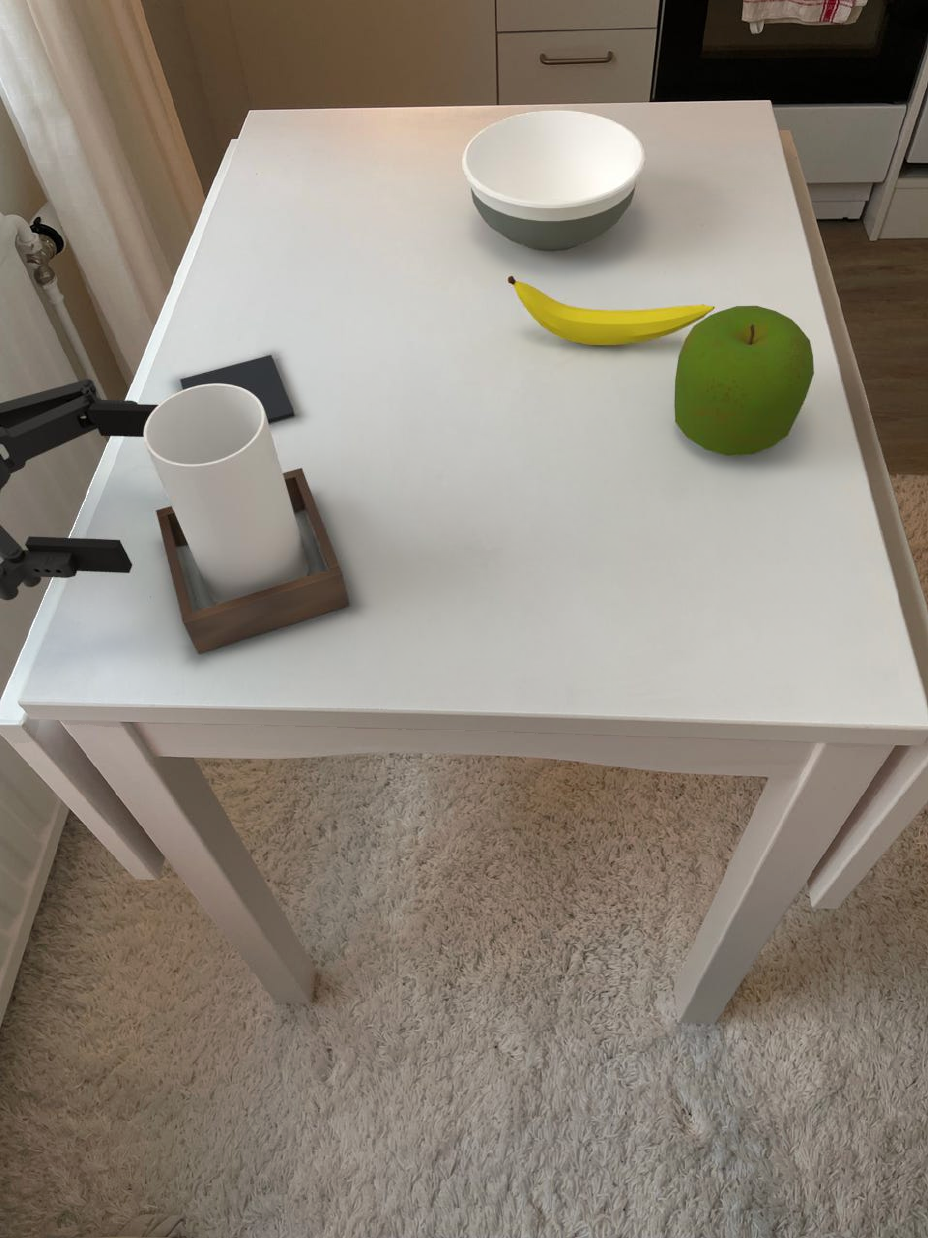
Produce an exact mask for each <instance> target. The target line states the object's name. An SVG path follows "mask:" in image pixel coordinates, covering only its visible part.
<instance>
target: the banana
mask: <svg viewBox="0 0 928 1238" xmlns="http://www.w3.org/2000/svg"><path fill="white" fill-rule="evenodd" d="M507 282H508V284H511V285H512V286H513V288H514V291H515V293H516V296H517V298H518V299H519V300H520V302H521V304H522V306H523V307H524V308H525V309H526V311H527V312H528V313H529V314H530V316H531V317H532V318H533V319H534V320H535V321H536V322H537V323H538V324H539V325H540V326H541V327H543V328H544V329H545V330H547V331H548V332H549V333H550V334H553V335H554V336H556V337H558V338H561V339H564V340H567V341H569V342H573V343H577V344H583V345H588V346H589V345H590V346H617V345H628V344H634V343H635V344H636V343H643V342H646V341H653V340H656V339H660V338H663V337H666V336H668V335H671V334H674V333H676V332H678V331H680V330H683V329H685V328H687V327H689V326H691V325H693V324H694V323H696V322H698V321H701V320H703V319H704V318H706V316H707V315H708V314H709V313H711V312H712V311H714V309H715V306H714V305H707V304H694V305H693V304H692V305H679V306H670V307H669V306H668V307H659V308H648V309H627V310H625V309H623V310H622V309H619V310H617V309H613V310H612V309H611V310H610V309H592V308H585V307H578V306H577V307H576V306H573V305H567V304H565V303H562V302H560V301H557V300H556V299H554V298H552V297H550V296H548V295H547V294H545V293H544V292H542V291H541V290H539V289H538V288H536V287H534V286H532V285H530V284H528V283H527V282H522V281H518V280H516V279H515V277H514V276H513V275H510V276H508V278H507Z"/></svg>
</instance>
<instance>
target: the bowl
mask: <svg viewBox="0 0 928 1238" xmlns="http://www.w3.org/2000/svg"><path fill="white" fill-rule="evenodd" d="M461 164H462V169H463V174H464V175H465V176H466V178H467V181H468V184H469V187H470V193H471V198H472V203H473V205H474V207H475V208H476V210H477V212H478V213H479V215H480V216H481V218H482V219H483V221H484V223H486V224H487V225H488V226H489V227H490V229H492V230H494V231H495V232H497V233H498V234H500V235H501V236H503V237H504V238H507V240H510V241H512V242H514V243H516V244H518V245H523V246H524V247H526V248H528V249H532V250H536V251H542V252H558V251H564V250H570V249H571V248H575V247H577V246H579V245H582V244H584V243H588V242H590V241H592V240H594V239H596V238H598V237H599V236H601V235H602V234H604V233H606V232H608V231H609V230H610V229H611V228H612V227H613V226H615V225H616V224H617V223H618V222H619V220H620V219H621V218H622V216H623V215H624V214H625V212H626V211H627V209H628V208H629V207H630V205H631V204H632V200H633V198H634V195H635V191H636V187H637V182H638V179H639V178H640V176H641V175H642V173H643V170H644V168H645V166H646V151H645V149H644V147H643V144H642V142H641V141H640V139H639V138H638V137H637V135H636V134H635V133H634V132H633V131H631V130H630V129H628V128H627V127H626V126H625V125H623V124H621V123H619V122H617V121H614V120H612V119H611V118H608V117H604V116H601V115H598V114H594V113H588V112H583V111H575V110H565V109H564V110H563V109H561V110H560V109H559V110H558V109H557V110H555V109H553V110H552V109H550V110H548V109H547V110H539V111H531V112H530V111H529V112H526V113H525V112H524V113H520V114H515V115H512V116H509V117H506V118H503V119H500V120H498V121H496V122H494V123H492V124H489V125H487V126H486V127H485V128H484V129H483V128H482V130H480V131H479V132H477V133H476V135H474V136H473V137H472V138H471V139H470V140H469V141H468V144H466V147H465V149H464V151H463V153H462V159H461Z"/></svg>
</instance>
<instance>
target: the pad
mask: <svg viewBox="0 0 928 1238" xmlns="http://www.w3.org/2000/svg"><path fill="white" fill-rule="evenodd" d="M179 381H180V385H181V388H182V390H185V389H188V388H191V387H194V386H199V385H205V384H229V385H234V386H238V387H241V388H243V389H246V390H248V391H249V392H251V393H252V394H254V395H255V396H256V397H257V398H258V399H259V401H260V402H261V404H262V406H263V408H264V410H265V413H266V417H267V420H268V424H269V425H270V424H271V423H272V424H273V423H276V422H279V421H282V420H286V419H289V418H293V417H295V416H296V414H295V411H294V408H293V406H292V404H291V400H290V398H289V396H288V394H287V391H286V389H285V386H284V384H283V381H282V378H281V376H280V373H279V371H278V368H277V366H276V363H275V360H274V358H273V356H272V354H269V355H265V356H262V357H257V358H254V359H250V360H246V361H242V362H239V363H236V364H232V365H228V366H224V367H221V368H217V369H214V370H210V371H206V372H203V373H198V374H194V375H191V376H188V377H183V378H179Z"/></svg>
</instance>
